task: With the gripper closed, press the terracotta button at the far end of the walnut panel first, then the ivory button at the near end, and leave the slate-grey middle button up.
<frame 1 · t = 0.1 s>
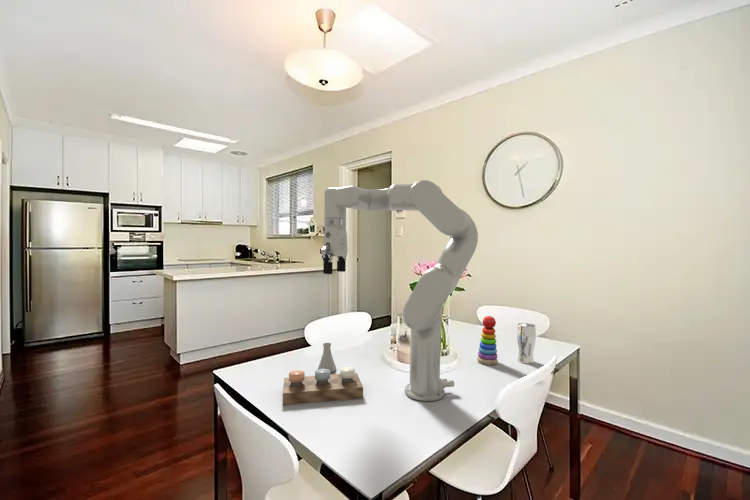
hand: (334, 272, 126), 37 cm above the table, tool pointing down, fingers open, 9 cm apart
slate button: (322, 379, 114), point 4 cm above the table, slide at 0.0 cm
beer glass: (525, 361, 146), on the table
terracotta button: (296, 381, 113), point 4 cm above the table, slide at 0.0 cm
stacking toy: (487, 362, 145), on the table
button panel: (322, 393, 114), on the table
ivory button: (347, 378, 116), point 4 cm above the table, slide at 0.0 cm
flask: (326, 370, 135), on the table
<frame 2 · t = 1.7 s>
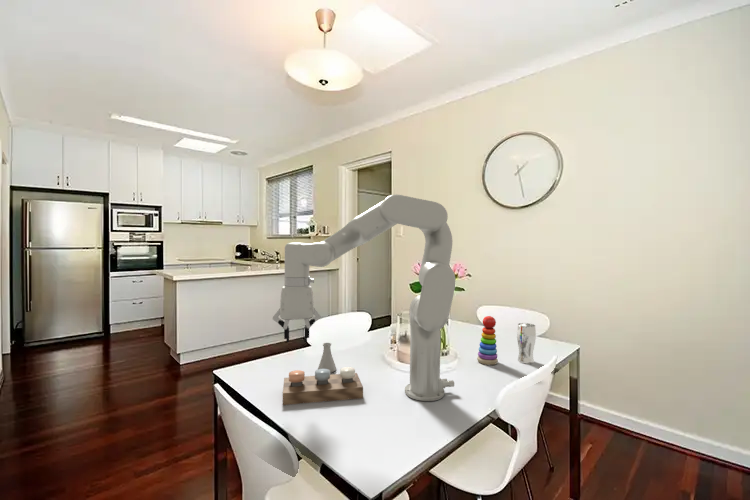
hand: (296, 340, 112), 17 cm above the table, tool pointing down, fingers open, 4 cm apart
nothing on the table moved.
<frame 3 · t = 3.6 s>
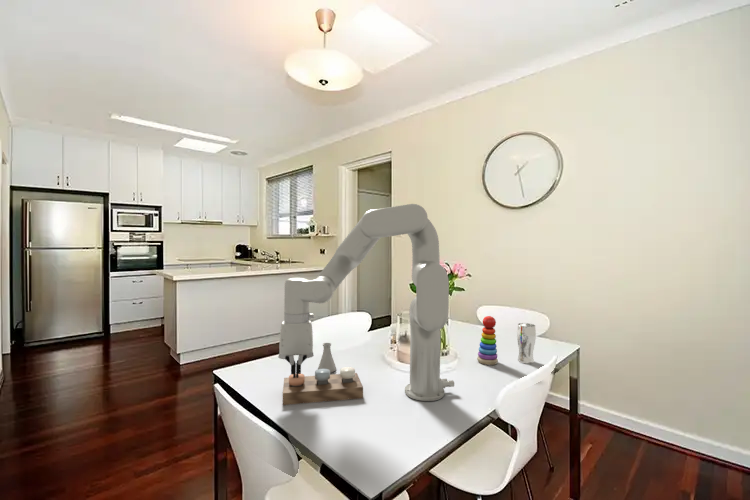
hand: (295, 376, 112), 6 cm above the table, tool pointing down, fingers closed
terracotta button: (296, 384, 113), point 3 cm above the table, slide at 1.0 cm, touching gripper
everything else where it was.
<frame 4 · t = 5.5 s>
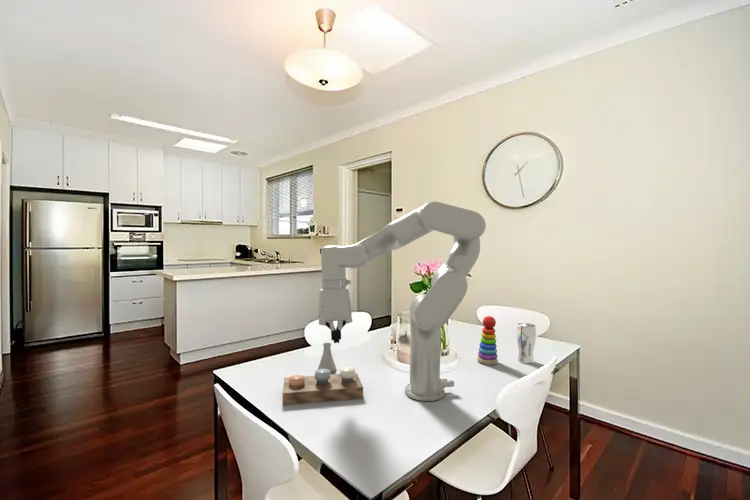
hand: (336, 341, 115), 16 cm above the table, tool pointing down, fingers closed
terracotta button: (296, 386, 113), point 3 cm above the table, slide at 1.5 cm
everything else where it was.
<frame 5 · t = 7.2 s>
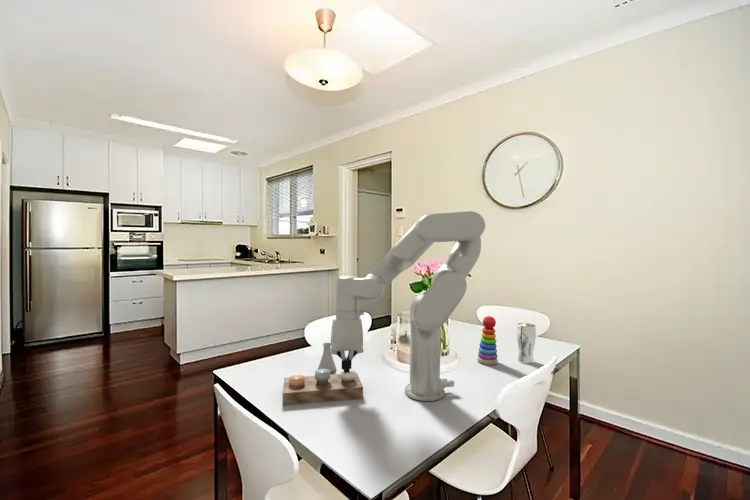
hand: (346, 371, 116), 7 cm above the table, tool pointing down, fingers closed
ivory button: (347, 379, 116), point 4 cm above the table, slide at 0.5 cm, touching gripper
everything else where it was.
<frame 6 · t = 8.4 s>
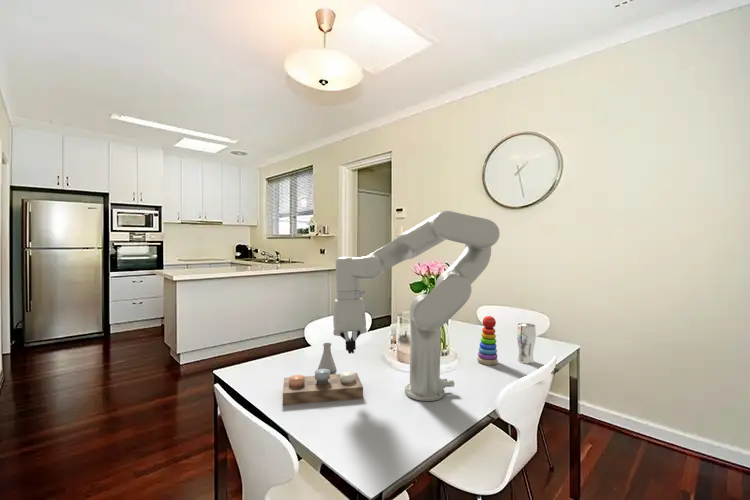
hand: (350, 352, 116), 13 cm above the table, tool pointing down, fingers closed
ivory button: (347, 382, 116), point 3 cm above the table, slide at 1.5 cm
everything else where it was.
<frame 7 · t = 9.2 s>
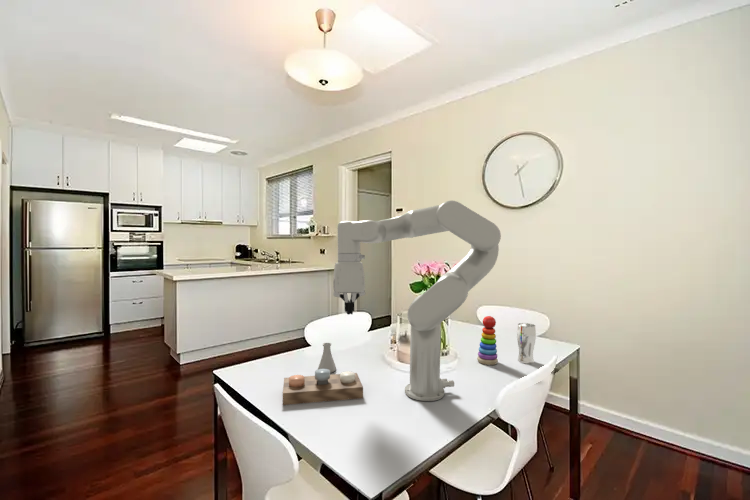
hand: (349, 313, 120), 24 cm above the table, tool pointing down, fingers closed
nothing on the table moved.
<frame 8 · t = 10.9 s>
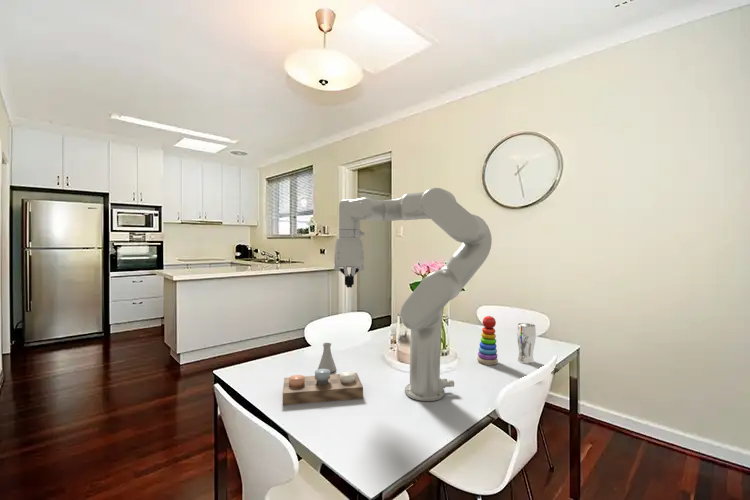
hand: (349, 286, 127), 32 cm above the table, tool pointing down, fingers closed
nothing on the table moved.
at the end: terracotta button slide at 1.5 cm; ivory button slide at 1.5 cm; slate button slide at 0.0 cm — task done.
